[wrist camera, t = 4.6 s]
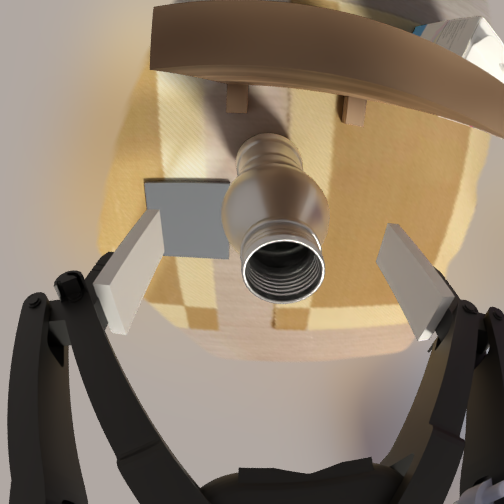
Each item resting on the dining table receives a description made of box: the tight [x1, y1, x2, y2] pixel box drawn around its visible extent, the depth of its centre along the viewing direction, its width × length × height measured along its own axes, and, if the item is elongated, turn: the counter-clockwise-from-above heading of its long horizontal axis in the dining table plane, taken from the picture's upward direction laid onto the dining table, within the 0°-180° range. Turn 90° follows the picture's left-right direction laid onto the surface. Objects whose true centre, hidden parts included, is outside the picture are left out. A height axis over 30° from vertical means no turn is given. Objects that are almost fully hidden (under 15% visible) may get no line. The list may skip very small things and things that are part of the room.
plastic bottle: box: [221, 133, 330, 304], centre depth 20 cm, size 6×7×20 cm
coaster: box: [144, 181, 230, 259], centre depth 33 cm, size 10×10×1 cm
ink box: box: [412, 16, 504, 140], centre depth 16 cm, size 9×8×13 cm
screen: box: [150, 0, 504, 139], centre depth 15 cm, size 8×14×22 cm, turn 87°
